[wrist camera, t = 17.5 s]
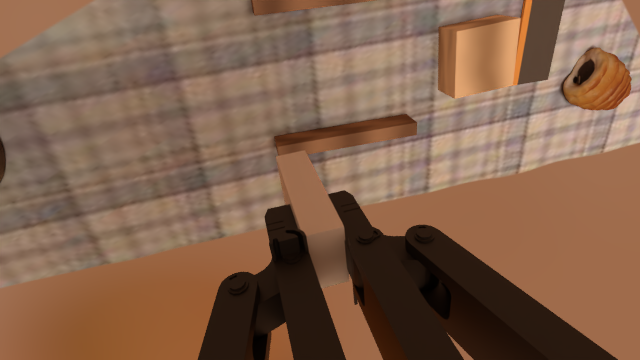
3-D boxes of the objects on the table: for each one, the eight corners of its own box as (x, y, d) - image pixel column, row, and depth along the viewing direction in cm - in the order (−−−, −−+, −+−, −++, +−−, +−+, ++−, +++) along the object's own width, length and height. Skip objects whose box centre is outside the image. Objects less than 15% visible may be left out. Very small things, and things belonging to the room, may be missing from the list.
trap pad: (509, 84, 45) (511, 85, 45) (524, -6, 40) (526, -6, 40) (545, 78, 45) (547, 79, 45) (565, -11, 40) (567, -11, 40)
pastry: (630, 72, 48) (659, 79, 45) (595, 118, 51) (620, 128, 47) (586, 43, 45) (614, 48, 41) (550, 93, 47) (574, 102, 44)
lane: (276, 148, 42) (279, 159, 40) (250, -5, 34) (251, -4, 32) (405, 125, 45) (416, 134, 42) (409, -24, 37) (422, -24, 34)
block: (437, 89, 43) (454, 98, 40) (437, 26, 40) (456, 31, 36) (491, 76, 44) (512, 85, 41) (496, 14, 41) (520, 17, 37)
